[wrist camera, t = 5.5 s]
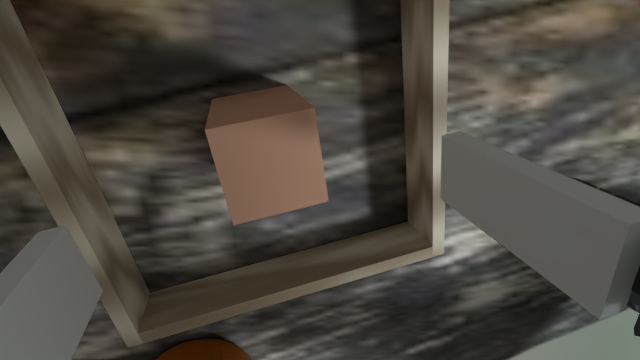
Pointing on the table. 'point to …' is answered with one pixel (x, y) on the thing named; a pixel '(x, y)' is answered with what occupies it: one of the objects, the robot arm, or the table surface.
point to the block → (266, 152)
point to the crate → (250, 281)
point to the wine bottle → (204, 351)
